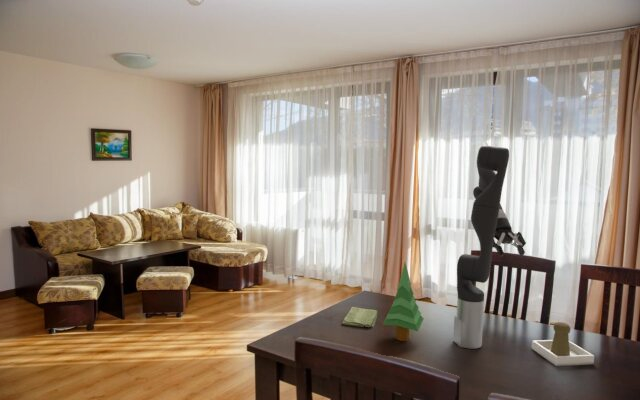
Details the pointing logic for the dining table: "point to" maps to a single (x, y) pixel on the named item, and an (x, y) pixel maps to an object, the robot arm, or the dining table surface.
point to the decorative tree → (404, 309)
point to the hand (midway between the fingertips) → (512, 255)
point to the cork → (561, 339)
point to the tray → (575, 358)
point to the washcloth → (360, 317)
